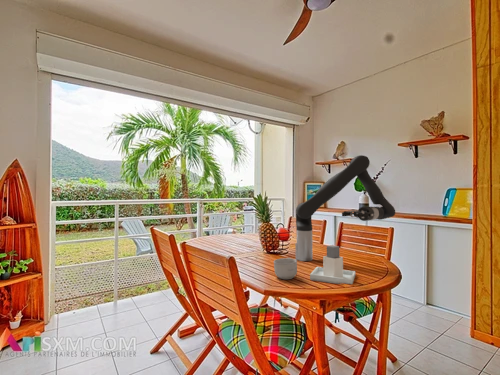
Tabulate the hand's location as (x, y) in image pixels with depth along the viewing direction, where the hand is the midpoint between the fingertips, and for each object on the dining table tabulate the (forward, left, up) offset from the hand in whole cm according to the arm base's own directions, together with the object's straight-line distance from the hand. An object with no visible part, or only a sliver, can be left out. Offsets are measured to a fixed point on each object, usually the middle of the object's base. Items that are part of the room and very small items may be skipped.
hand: (349, 214), depth 139 cm
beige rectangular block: (-6, -17, -27) cm, 33 cm away
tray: (-6, -17, -28) cm, 33 cm away
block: (-6, -17, -26) cm, 32 cm away
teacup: (-26, -24, -28) cm, 45 cm away
